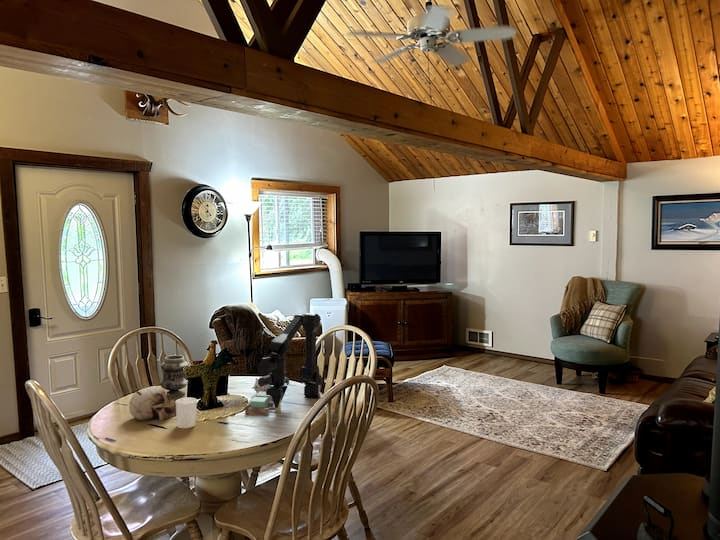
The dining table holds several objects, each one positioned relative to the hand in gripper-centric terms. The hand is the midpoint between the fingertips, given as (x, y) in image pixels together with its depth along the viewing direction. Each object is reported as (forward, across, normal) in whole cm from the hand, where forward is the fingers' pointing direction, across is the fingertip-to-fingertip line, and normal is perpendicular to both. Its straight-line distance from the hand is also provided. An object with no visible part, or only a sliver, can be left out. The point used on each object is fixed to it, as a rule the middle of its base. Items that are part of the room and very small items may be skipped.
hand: (277, 405), depth 219 cm
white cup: (+3, +21, -32) cm, 38 cm away
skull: (+3, +12, -48) cm, 50 cm away
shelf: (+2, -4, -8) cm, 9 cm away
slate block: (+3, -8, -8) cm, 12 cm away
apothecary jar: (+3, -16, -53) cm, 55 cm away
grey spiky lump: (+3, -22, -13) cm, 26 cm away
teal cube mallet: (+3, 0, -5) cm, 6 cm away
